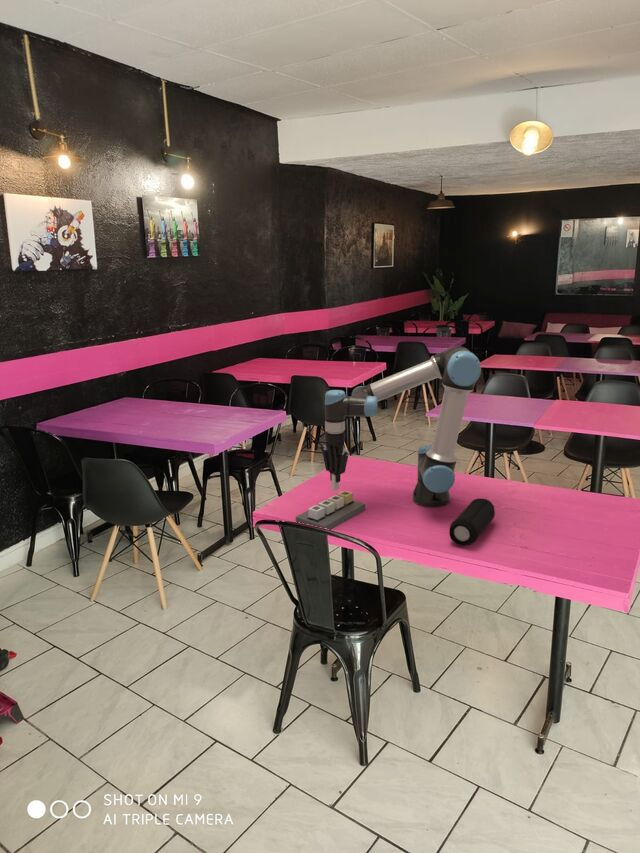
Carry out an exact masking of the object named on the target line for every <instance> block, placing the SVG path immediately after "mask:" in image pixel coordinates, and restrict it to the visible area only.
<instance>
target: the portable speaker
mask: <svg viewBox="0 0 640 853" xmlns="http://www.w3.org/2000/svg"><path fill="white" fill-rule="evenodd" d="M495 513H496V512H495V506H494V504H493V503H492V502H491V501H490V500H489V499H487V498H476V499H473V500H472V501H471V502H470V503H469V504H468V505H467V506H466V507H465V509H463V511H462V512H461V513H460V514H459V515H458V516H457V517H456V518H455V519H454V520H453V521H452V522H451V524H450V525H449V530H448V531H449V532H448V533H449V538H450V540H451V541H452V542H453V543H454V544H456V545H457V546H460V547H465V546H466V547H467V546H470V545H472V544H474V543H475V542H476V541H477V539H478V538H479V537H480V536H481V535H482V533H483V532H484V531H485V529H486V528H487V527H488V526H489V524H490V523H492V522H493V520H494V518H495Z"/></svg>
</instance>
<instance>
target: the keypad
mask: <svg viewBox="0 0 640 853" xmlns="http://www.w3.org/2000/svg"><path fill="white" fill-rule="evenodd" d="M334 510H335V511H333V512H331V513H329V514H328V515H327V514H325V516H324V517H322V518H320V519H318V520H316V519H313V518H310V517H308V510H307V511H304V512H302V513H301V514H299V515H297V516H295V523H296V522H300V523H304V524H309V525H313V526H317V527H322V528H327V529H330V530H332V529H334V528H335V527H337V526H339V525H341V524H342V523H344V522H346V521H348V520H350V519H352V518H354V517H355V516H356V515H358V514H360V513H362V512H363V511H366V503H363V502H362V501H357V500H354V499H353V501H352V502H350V503H348V504H344V506H343V507H341V508H339V509H334Z"/></svg>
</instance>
